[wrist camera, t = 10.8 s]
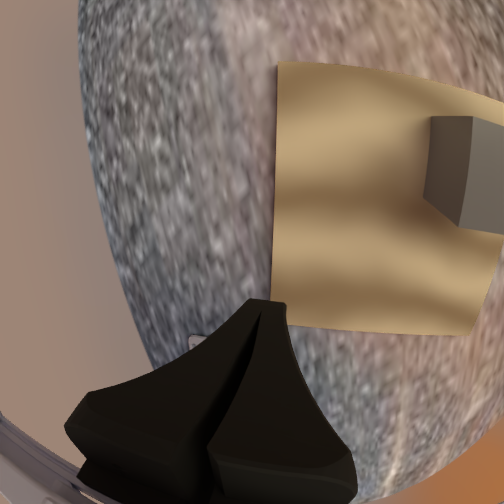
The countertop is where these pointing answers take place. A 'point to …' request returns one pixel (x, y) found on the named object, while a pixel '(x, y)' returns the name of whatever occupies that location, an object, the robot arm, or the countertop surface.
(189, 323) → the countertop surface
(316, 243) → the board
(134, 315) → the countertop surface
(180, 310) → the countertop surface
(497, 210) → the grey cube
